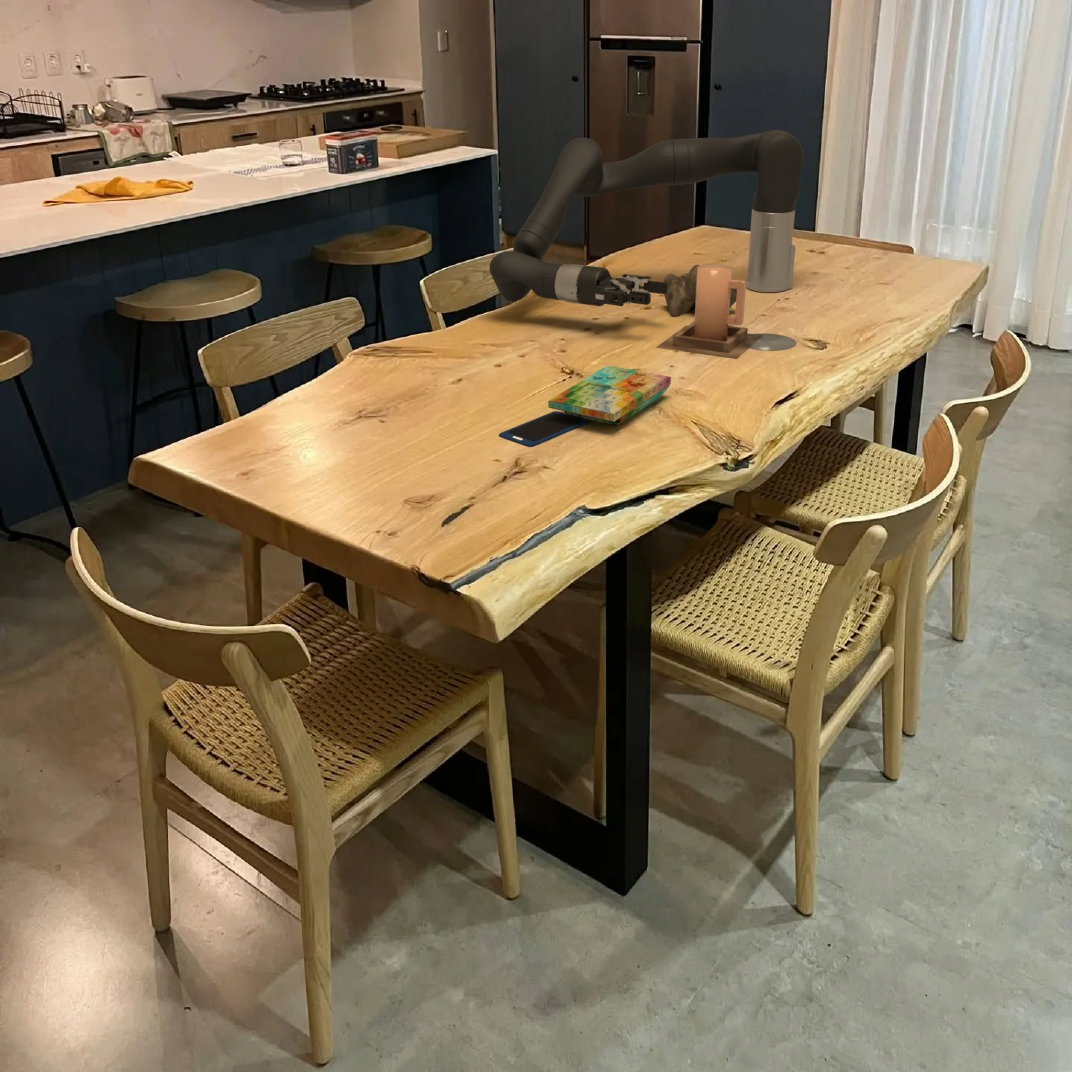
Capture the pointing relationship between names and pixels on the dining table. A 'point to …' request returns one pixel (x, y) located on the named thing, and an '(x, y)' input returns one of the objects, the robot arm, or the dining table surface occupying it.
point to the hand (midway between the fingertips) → (658, 293)
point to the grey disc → (770, 342)
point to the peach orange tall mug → (716, 302)
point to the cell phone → (543, 428)
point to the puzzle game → (611, 395)
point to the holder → (709, 342)
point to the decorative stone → (685, 292)
